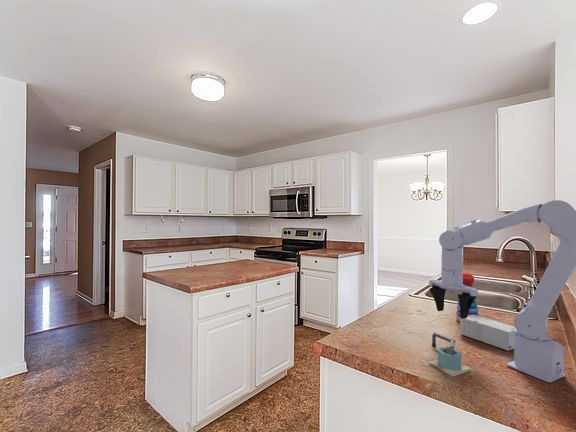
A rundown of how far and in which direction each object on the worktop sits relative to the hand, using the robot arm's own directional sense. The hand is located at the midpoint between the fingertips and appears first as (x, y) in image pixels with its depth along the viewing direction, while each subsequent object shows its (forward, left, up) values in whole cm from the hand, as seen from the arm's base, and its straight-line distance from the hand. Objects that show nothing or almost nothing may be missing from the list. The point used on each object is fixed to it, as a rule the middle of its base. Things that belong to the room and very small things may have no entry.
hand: (451, 314), depth 91 cm
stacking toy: (+12, -27, -10) cm, 31 cm away
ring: (-8, +13, -9) cm, 18 cm away
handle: (-2, +6, -10) cm, 12 cm away
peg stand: (-8, +13, -10) cm, 18 cm away
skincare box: (+5, -15, -7) cm, 17 cm away
